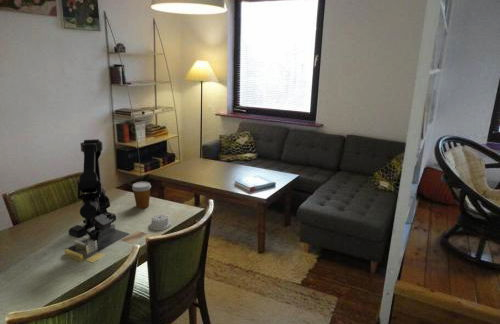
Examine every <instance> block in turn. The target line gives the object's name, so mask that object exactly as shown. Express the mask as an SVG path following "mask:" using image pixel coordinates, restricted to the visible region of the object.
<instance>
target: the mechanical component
mask: <svg viewBox="0 0 500 324" xmlns="http://www.w3.org/2000/svg"><path fill="white" fill-rule="evenodd" d="M148 226H149V227H148V228H149V229H151V230H155V231H163V230H167V229H169V228H171V226H172V221H171V220H170V219H169V215H166V214H161V213H160V214H155V215H153V216H152V217H151V221H149V223H148Z"/></svg>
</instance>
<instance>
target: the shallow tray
mask: <svg viewBox="0 0 500 324" xmlns="http://www.w3.org/2000/svg"><path fill="white" fill-rule="evenodd" d="M128 235H130V233H129V232H126V231H122V230H119V229H116V224H113V223H111V227H110V228H107V229H105V230H104V231H101V232H100V235H99V238H98V242H97V248H98V250H97V251H95V252H93V253H92V254H90V255H88V256H86V255H84V254H81V253H78V252H76V251H75V247H74V243H72V244H70V245H68V246H66V247H65V248H64V250H63V251H64V256H65V257H67V258H70V259H72V260H75V261H77V262H79V263H81V262H83V261H86V259H88V258H89V257H91V256H93V255H95V254H96V253H100V252H101V251H102V250H104V249H106V248H107V247H109V246H111V245H113V244H115V243H116V242H119V241H121V239H123V238H125V237H127V236H128ZM87 237H89V235H88V236H87ZM89 238H90V237H89ZM79 241H80V242H83V238H82V239H80V240H79Z"/></svg>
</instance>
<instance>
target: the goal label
mask: <svg viewBox="0 0 500 324" xmlns="http://www.w3.org/2000/svg"><path fill="white" fill-rule="evenodd" d="M105 256H106V254H103V253H101V252H97V253H95V254H93V255H92V256H90V257H89V258H87V259H85V261H87V262H89V263H91V264H94V263H96V262H97V261H99V260H100V259H102V258H103V257H105Z"/></svg>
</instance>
